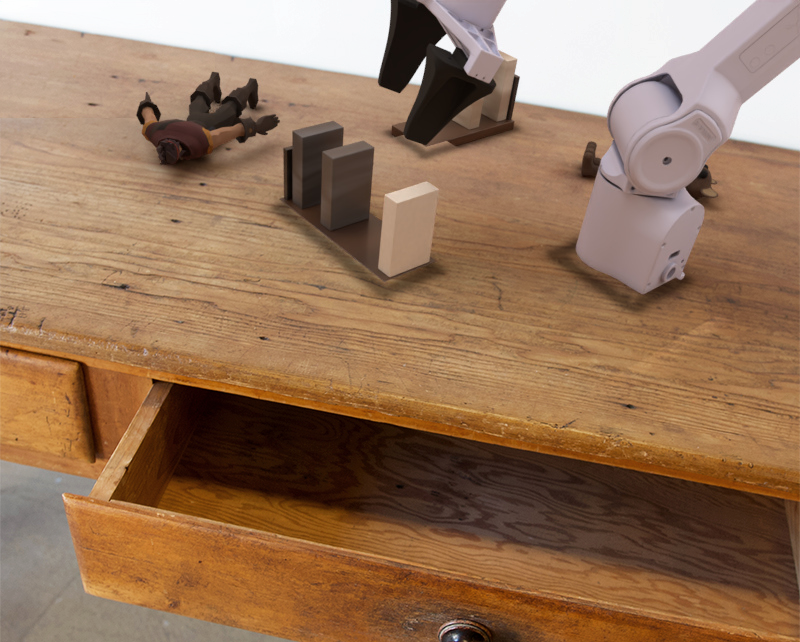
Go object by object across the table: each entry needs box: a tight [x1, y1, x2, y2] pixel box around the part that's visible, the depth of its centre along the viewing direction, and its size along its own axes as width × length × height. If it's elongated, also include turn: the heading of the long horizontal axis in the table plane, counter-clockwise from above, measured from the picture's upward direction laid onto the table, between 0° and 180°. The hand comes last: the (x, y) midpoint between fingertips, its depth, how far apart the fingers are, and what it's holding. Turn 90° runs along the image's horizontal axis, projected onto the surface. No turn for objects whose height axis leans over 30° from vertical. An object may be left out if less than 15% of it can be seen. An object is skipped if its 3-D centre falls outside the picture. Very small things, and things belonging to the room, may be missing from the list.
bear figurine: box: [580, 140, 719, 199], centre depth 82 cm, size 18×4×14 cm
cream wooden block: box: [378, 180, 440, 277], centre depth 64 cm, size 2×4×7 cm, turn 130°
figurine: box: [135, 71, 281, 166], centre depth 80 cm, size 15×4×20 cm
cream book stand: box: [390, 49, 521, 148], centre depth 86 cm, size 6×14×8 cm, turn 130°
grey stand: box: [278, 120, 437, 283], centre depth 68 cm, size 16×6×8 cm, turn 40°
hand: (401, 112), depth 62 cm, fingers open, 7 cm apart
